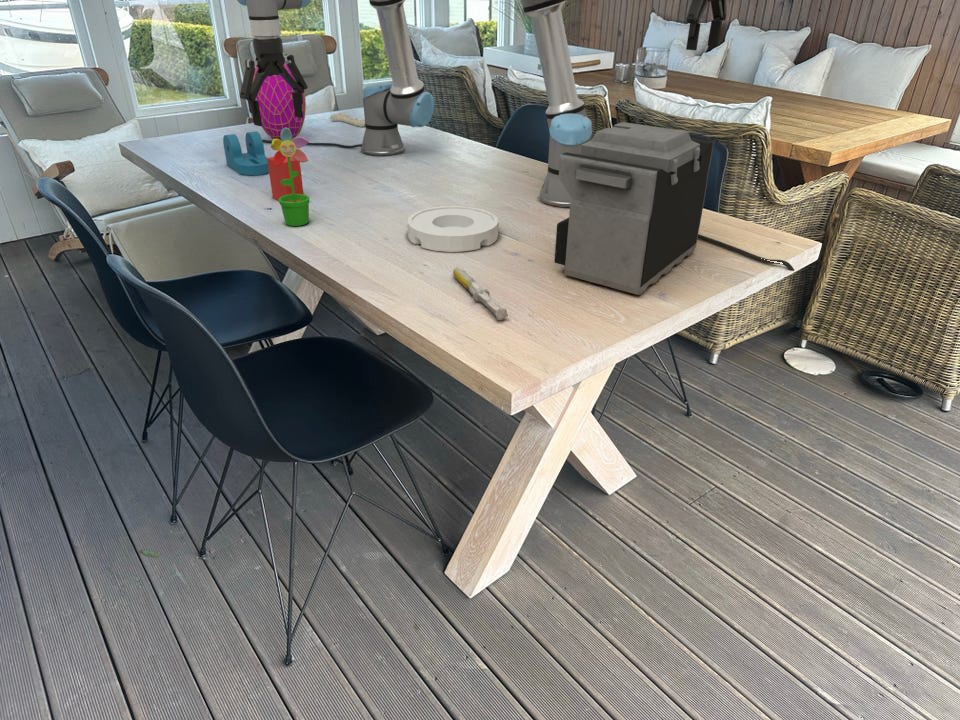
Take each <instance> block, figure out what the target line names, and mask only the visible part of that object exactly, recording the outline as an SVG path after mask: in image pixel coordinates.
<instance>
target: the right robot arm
mask: <svg viewBox="0 0 960 720" xmlns="http://www.w3.org/2000/svg"><path fill="white" fill-rule="evenodd" d="M565 3H566V0H521V4H522V5H521V6H522V9H523V13H524V15H525V16H527V17H528V18H529V19H531V25H532V30H533V35H534V40H535V44H536V45H535V46H536V48H537V49H536V50H537V53H538V59H539V63H540V68H541V73H542V78H543V82H544V87H545V92H546V97H547V101H548V107H547V109H546V110H545V117H546V121H547V127H548V131H549V144H548V156H547V157H548V159H547V173H546V176H545V178H544V181H543V184H542V187H541V189H540V192H539V200H540V202H542V203H543V204H546V205H549V206H553V207H558V208H559V207H560V208H570V202H571V199H572V198H571V196H570V195H569V193H568V191H567V190H566V188H565V186H564V185H563V183H562V181H561V180H560V178H559V165H560V155H561V154H563V153H566V152H568V153H573V154H579V155H580V154H581V145H582V144H584V143H586V142H589V141H591V140H592V134H593V123H592V120H591V119H590V118H589V117H587V111H586V107H585V102H584V101H583V100H582V99H580V97H578V92H577V86H576V81H575V76H574V71H573V65H572V60H571V55H570V50H569V49H570V48H569V44H568V38H567V34H566V28H565V24H564V19H563V12H562V9H563V7H564V5H565ZM709 3H710V7H711V12H712V18H713V19H712V20H711V21H710V27H709V33H708V40H707V47H718V46H719V40H720V34H721V29H722V22H724V21H726V20H727V16H728V15H727V11H728V10H727V0H692V1H691V4H690V6H689V10H688V13H687V15H686V21H685V23H687V24H689V28H688V34H687V41H686V48H685V49H686V50H685V51H697V49H698V44H699V43H698V42H699V37H700V31H701V23H700V22H701V19H702V17H703V15H704V13H705V11H706V9H707V6H708V5H709ZM697 239H700V240H703V241H706V242H708V243H712V244H714V245H717V246H720V247H722V248H725V249H728V250H729V251H732V252H735V253H738V254H740V255H743V256H745V257H748V258H750V259H753V260H755V261H758V262H761V263H764V264H770V265H781V266H784V267H786V268H787V269H788V270H789V271H791V272H794V271H795V269H794V267H793V266H792V265H791V263H790V262H788V261H786V260H783V259H770V258H766V257H762V256H758V255H756V254H753V253H751V252H749V251H746V250H743V249H741V248H738V247H735V246H734V245H730V244H727V243H725V242H722V241H720V240H717V239H713V238H711V237H708V236H706V235H703V234H700V233H698V238H697ZM761 258H762V259H761ZM764 259H765V260H764ZM767 260H770V261H777V262H782V263H783V264H780V263H774V262H770V261H767Z"/></svg>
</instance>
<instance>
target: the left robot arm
mask: <svg viewBox="0 0 960 720" xmlns="http://www.w3.org/2000/svg"><path fill="white" fill-rule="evenodd" d="M368 1H369V5H370V6H371V7H372V8H373V9H375V10H376V14H377V19H378V24H379V28H380V33H381V37H382V40H383V45H384V50H385V54H386V59H387V63H388V67H389V68H388V69H389V72H390V76H391V81H392V82H383V83H375V84H369V85H366V86H364V88H363V90H362V104H363V115H364V116H363V117H364V120H365V126H364V127H365V130H364V134H363V137H362V143H359V144H353V145H352V144H351V145H347V144H341V143H335V142H309V143H307V144H306V145H305V146H331V147H338V148H344V149H355V148H361V152H362V153H363V154H366V155H368V156H377V157H378V156H379V157H384V156H393V155H399V154H401V153H403V152H404V151H405V148H404V147H405V146H404V143H403V140H402V137H401V134H400V131H399V127H398V126H399V125H400V126H405V127H406V126H407V127H411V128H423V127H426V126H427V125H428V124H429V122H430V121H431V120H432V118H433V115H434V111H435V99H434V96H433V94H431V93H430V92H429V91H426V89H425V84H424V81H422V80H420V79H419V77H418V71H417V66H416V62H415V57H414V52H413V47H412V41H411V37H410V32H409V28H408V27H409V26H408V23H407V17H406V12H405V7H404V3H405V1H406V0H368ZM236 2H238V3H239V4H240V5H241V6H244V7H246V10H247V15H248V21H249V29H250V34H251V36H252V37H253V38H252V40H251V41H252V47H253V48H252V49H253V53H254V55H255V59H245V60H244V62H245V63H244V64H245V65H244V66H245V69H244V75H243V78H242V82H241V83H242V84H241V87H240V91H239V98H240V99H241V100H245V101H247V106H248V112H249V113H250V114H252V115H251V116H252V120H253V126H257V127H261V126H262V121H261V115H260V109H259V103H258V101H257V100H255V99H256V97H257V95H258V93H259V90H260V88H261V86H262V84H263V82H264V80H265V79H266V78H267V76H273V75H281V76H282V78H283V79H284V80H285V81H286V82H287V83H288V84H289V85H290V86H291V88H292V89H293V90H294V91H295V92H292V97H293V104H294V112H295V117H299V118H303V112H302V105H301V104H303V97H302V93H304V92H305V91H306V90H307V89H308V84H307V82H306V81H305V79H304V77H303V75H302V73H301V72H300V69H299V67H298V66H297V64H296V61H295V56H294V55H293V54H289V53H286V54H283V53H284V46H283V39H282V37H280V36H281V35H282V30H281V23H280V17H279V16H280V15H279V11H283V10H295V9H296V10H300V9H303V8H307V7H308V6H309V5H310V4H311V2H312V0H236ZM284 63H286V64H287V66H288V68H289V70H290V72H291V73H292V75H293V77H294V79H295V80H294V79H293V78H292V77H291V75H290V74H289V73H288V71H287V70H286V69H285V68H284V66H283V65H284ZM256 66H257V67H258V70H257V72H256V77H255V79H254V81H253V78H254V73H255V68H256ZM252 82H253V83H252ZM262 141H263V143H265V144H266V143H267V144H272V141H273V140H269V139H268V140H267V139H262Z"/></svg>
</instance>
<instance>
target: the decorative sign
mask: <svg viewBox="0 0 960 720" xmlns="http://www.w3.org/2000/svg"><path fill="white" fill-rule="evenodd" d="M330 121H332V122H338V121H339V122H344V123H348V124H350V125H353V126H356V127H360V128H361V127H363V128H364V127H365V119H359V118H357V117H351V116H350V114H346V113H344V112H338V113H336V114H331V115H330Z"/></svg>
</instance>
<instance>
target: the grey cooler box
mask: <svg viewBox="0 0 960 720" xmlns="http://www.w3.org/2000/svg"><path fill="white" fill-rule="evenodd" d="M593 135H594V136H593V137H591V141H589V142H586V143H584V144H582V145H581V154H580V155H579V154H573V153H568V152H566V153H563V154H561V155H560V165H559V178H560V180H561V181H562V183H563V185H564V186H565V188H566V190H567V191H568V193H569V195H570V196H571V198H572V199H571V202H570V207H569V211H568V212H569V213H568V217H566V218H565V219H563V220H561V221H559V222H558V223H557V224H556V231H555V247H554V263H555V264H558V265H561V266H564V270H563V271H564V274H565V275H566V276H569V277H572V278H575V279H579V280H583V281H586V282H589V283H594V284H597V285H600V286H605V287H609V288H612V289H615V290H619V291H622V292H626V293H629V294H633V295H636V296H637V295H639V296H640V295H642V294H644V293H645V292H646V290H647V289H648V287H649V286H650V285H654V284H656V283H657V282H659V279H660V278H661V276H662V275H663V276H665V275H667V274H669V273H670V272H671V270H672V269H673V267H674V266H678V265H679V264H680V263H682V262H683V260H684V258H685V257H689V256H690V255H692V254H693V252H694V251H695V249H696V247H697V243H698V239H699V238H698V234H700V233H699V231H700V226H701V221H702V216H703V209H704V206H705V205H704V204H705V198H706V193H707V187H708V178H709V174H710V173H709V172H710V167H711V162H712V156H713V150H714V145H715V141H714V140H708V139H701V138H694V137H691V136H690V133H689V131H687V130H681V129H673V128H667V127H661V126H660V127H659V126H652V125H645V124H638V123H631V122H627V121H626V122H625V121H621V122H619V123H616V124H614V125H613V126H612V127H610V128H609V127H605V128H603V129H599V130H597V131H596V132H595V133H594V134H593Z"/></svg>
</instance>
